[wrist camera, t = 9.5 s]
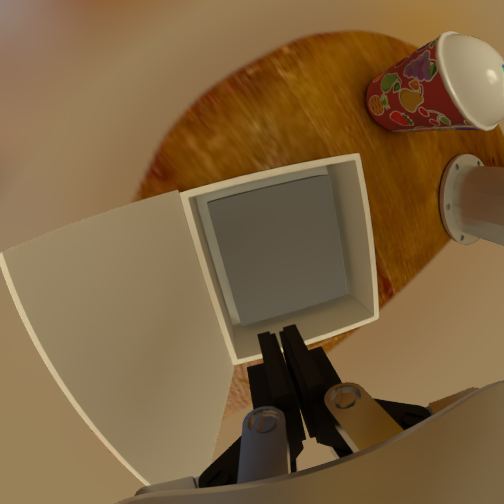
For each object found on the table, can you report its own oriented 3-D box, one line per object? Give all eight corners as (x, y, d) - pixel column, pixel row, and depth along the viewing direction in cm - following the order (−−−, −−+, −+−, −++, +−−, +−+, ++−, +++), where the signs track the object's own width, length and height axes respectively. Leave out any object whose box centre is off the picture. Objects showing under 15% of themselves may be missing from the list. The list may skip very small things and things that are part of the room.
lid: (2, 251, 5) (-5, 255, 5) (195, 520, 9) (187, 519, 9) (178, 189, 19) (171, 191, 19) (234, 368, 23) (228, 369, 23)
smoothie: (416, 144, 27) (563, 141, 8) (358, 136, 26) (523, 109, 7) (408, 80, 25) (538, 40, 6) (350, 66, 24) (481, -13, 5)
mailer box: (327, 157, 27) (359, 152, 20) (349, 292, 31) (378, 318, 24) (188, 190, 26) (179, 192, 19) (229, 328, 30) (233, 365, 23)
